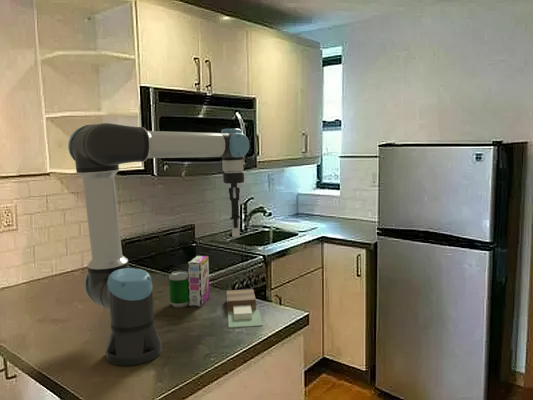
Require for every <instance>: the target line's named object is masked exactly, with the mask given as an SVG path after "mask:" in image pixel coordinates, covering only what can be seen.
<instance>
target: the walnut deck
mask: <svg viewBox="0 0 533 400" xmlns="http://www.w3.org/2000/svg"><path fill="white" fill-rule="evenodd" d="M238 305H251V310H257V299H256V294H255V291H254V288H249V289H248V288H247V289H232V290H226V307H227V312H228V311H234V309H233V306H238Z"/></svg>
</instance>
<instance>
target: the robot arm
mask: <svg viewBox="0 0 533 400" xmlns="http://www.w3.org/2000/svg"><path fill="white" fill-rule="evenodd" d="M67 147H68V148H67V149H68V151H69V152H68V153H69V155H70V156H71V158H72V159H73V161H75V170H76V172H75V173H76V174H77V175H78V176H79V177H80V178H82V181H83V182H82V183H83V190H84V198H85V199H84V201H85V208H86V216H87V218H86V219H87V226H88V234H89V235H88V236H89V243H90V251H91V260H90V261H89V262H88V263H87V266H86V267H87V274H86V276H85V279H84V291H85V293H86V294H87V297H88V298H90V299H91V300H92V302H94V303H96V304H97V305H99V306H102V307H103V308H104V309H106V310H108V311H109V319H110V333H109V336H108V339H107V345H106V348H105V356H106V357H105V359H106V361H107V362H108V363H109V364H111V365H115V366H121V367H127V366H128V367H129V366H136V365H137V366H138V365H142V364H144V363H147V362H150V361H152V360H154V359H157V357H158V356H160V355H161V353H162V341H161V338H160V336H159V333H158V331H157V328H156V326H155V321H154V319H155V315H154V295H153V283H152V282H153V281H152V276H151V275H150V274H149V272H147V270H144V269H141V268H135V267H130V264H129V259H128V258H127V257H126V256H124V255H123V249H122V240H121V239H122V238H121V230H120V220H119V211H118V210H119V209H118V201H117V189H116V181H115V180H116V179H115V176H116V174H117V173H118V172H119V170H120V165H122V164H129V163H138V162H139V163H143V162H146V161H147V160H148V159H158V158H159V159H166V158H167V159H168V158H169V159H175V158H176V159H177V158H179V159H180V158H222V159H221V160H222V161H221V162H222V171H223V174H222V178H223V179H222V180H223V181H222V182H223V183H224V184H230V187H228V194H229V200H230V201H231V203H230V204H231V205H230V206H231V216H230V217H229V220H231V234H232V238H235V237H240V236H241V235H240V234H241V232H240V229H241V228H240V218H241V215H240V212H239V201H240V192H241V190H240V189H241V188H240V187H238V184H242V183H244V182H245V173H244V170H245V169H244V166H245V165H246V162H245V161H244V157H245V156H246V155H247V153H248V152H249V151H250V141H249V138H248V137H247V136H246V134H244V133H243V131H242V129H240V128H224V129H221V131H220V132H198V131H197V132H194V131H165V130H163V131H162V130H161V131H160V130H157V131H156V130H147V129H146V128H145V127H142V126H130V125H123V124H116V123H109V122H102V123H97V124H96V123H95V124H94V123H93V124H92V123H91V124H86V125H83V126H81V127H79V128H77V129H75V131H73V133H72V134H71V135H70V137H69V140H68V146H67Z"/></svg>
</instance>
